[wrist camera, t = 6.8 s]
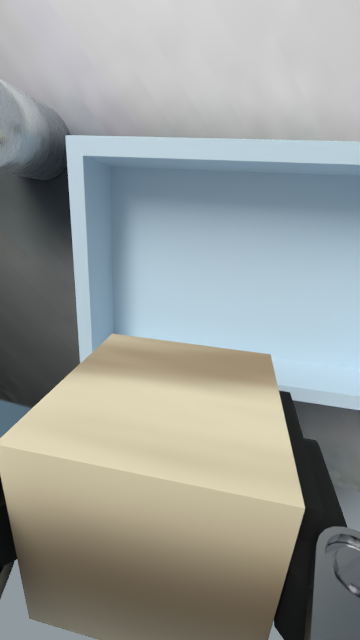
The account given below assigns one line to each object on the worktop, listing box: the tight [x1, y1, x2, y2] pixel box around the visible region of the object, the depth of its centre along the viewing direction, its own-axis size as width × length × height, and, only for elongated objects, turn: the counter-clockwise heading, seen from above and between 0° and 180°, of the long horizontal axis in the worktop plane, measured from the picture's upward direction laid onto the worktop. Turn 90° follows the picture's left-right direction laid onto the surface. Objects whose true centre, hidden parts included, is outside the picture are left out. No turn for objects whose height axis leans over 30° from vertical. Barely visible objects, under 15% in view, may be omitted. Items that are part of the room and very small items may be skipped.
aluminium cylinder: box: [0, 79, 69, 180], centre depth 19 cm, size 5×5×7 cm
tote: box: [65, 135, 360, 410], centre depth 20 cm, size 22×15×5 cm
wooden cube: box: [0, 333, 305, 640], centre depth 8 cm, size 5×5×5 cm
